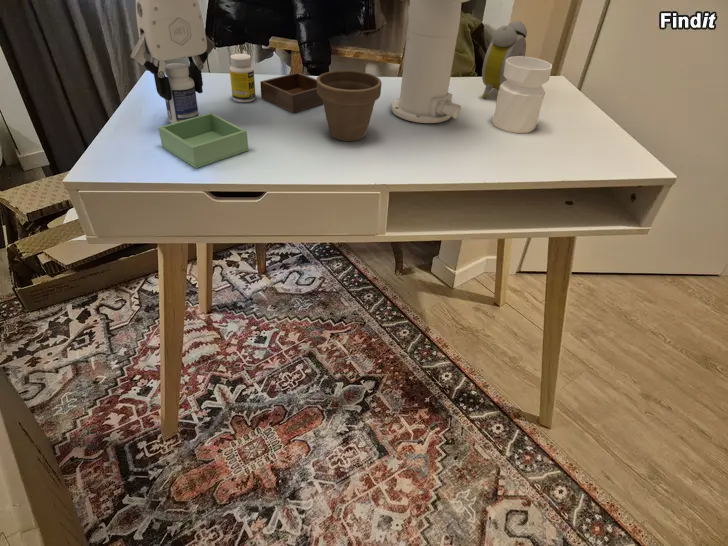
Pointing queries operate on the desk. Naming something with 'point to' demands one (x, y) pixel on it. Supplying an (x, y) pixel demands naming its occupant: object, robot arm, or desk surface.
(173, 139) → the green tray
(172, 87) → the pill bottle
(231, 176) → the desk surface
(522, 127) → the vase
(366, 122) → the flower pot
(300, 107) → the walnut tray
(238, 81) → the supplement bottle
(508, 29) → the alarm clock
